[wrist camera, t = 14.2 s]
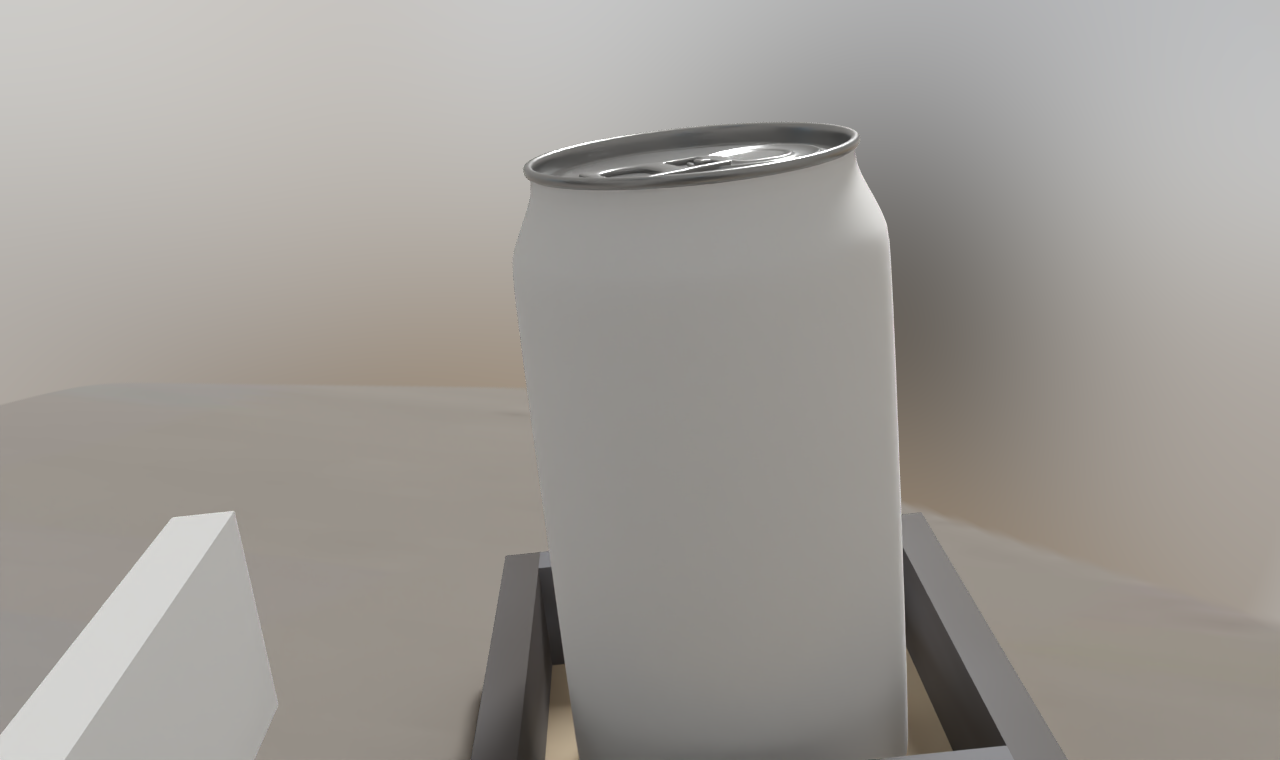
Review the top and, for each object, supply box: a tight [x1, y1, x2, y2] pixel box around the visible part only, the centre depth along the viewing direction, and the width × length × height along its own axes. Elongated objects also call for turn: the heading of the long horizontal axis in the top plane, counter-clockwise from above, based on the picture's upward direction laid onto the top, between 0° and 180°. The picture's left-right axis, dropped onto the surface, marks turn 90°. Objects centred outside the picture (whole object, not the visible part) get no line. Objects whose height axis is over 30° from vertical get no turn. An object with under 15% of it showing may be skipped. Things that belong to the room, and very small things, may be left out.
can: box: [513, 122, 908, 760], centre depth 22 cm, size 6×6×12 cm
